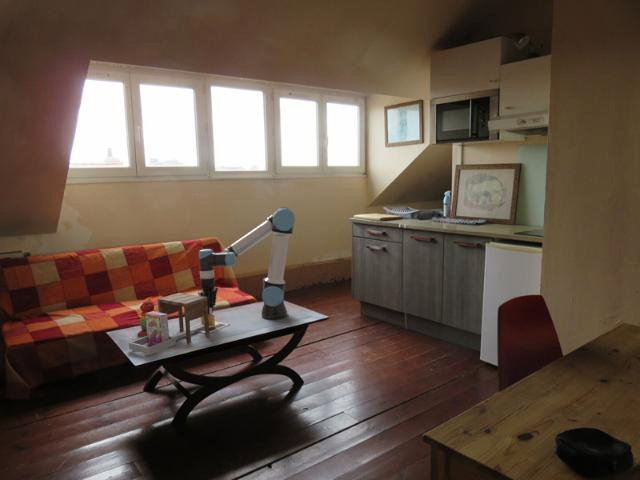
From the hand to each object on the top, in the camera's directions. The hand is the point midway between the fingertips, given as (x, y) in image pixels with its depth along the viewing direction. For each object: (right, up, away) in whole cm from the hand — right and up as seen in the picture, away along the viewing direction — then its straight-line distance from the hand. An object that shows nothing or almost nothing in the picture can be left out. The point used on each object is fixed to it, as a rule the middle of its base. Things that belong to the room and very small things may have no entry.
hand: (209, 319), depth 250 cm
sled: (-12, -6, -19) cm, 23 cm away
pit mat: (-1, -4, -1) cm, 4 cm away
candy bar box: (-18, -8, -28) cm, 34 cm away
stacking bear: (-31, -6, -7) cm, 32 cm away
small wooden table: (-9, -6, -15) cm, 19 cm away
